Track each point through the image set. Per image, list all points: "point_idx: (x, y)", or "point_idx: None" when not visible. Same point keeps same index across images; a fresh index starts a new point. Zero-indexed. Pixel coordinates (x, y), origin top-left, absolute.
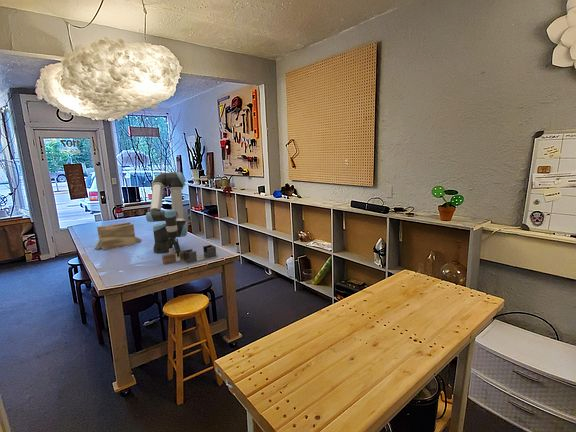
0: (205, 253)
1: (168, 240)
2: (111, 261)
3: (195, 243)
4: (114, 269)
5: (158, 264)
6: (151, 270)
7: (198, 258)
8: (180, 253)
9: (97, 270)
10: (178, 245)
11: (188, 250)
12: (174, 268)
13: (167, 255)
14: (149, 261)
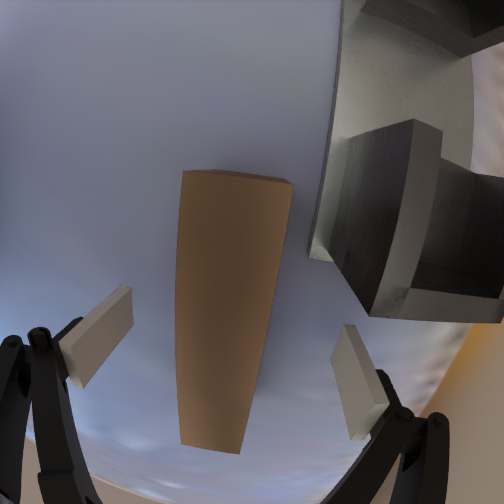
0: (422, 17)
1: (15, 477)
2: None
3: (5, 6)
4: (131, 477)
5: None
6: (280, 458)
7: (425, 120)
8: (271, 302)
9: (111, 482)
10: (437, 502)
11: (424, 222)
12: (394, 384)
13: (218, 428)
14: (97, 398)
